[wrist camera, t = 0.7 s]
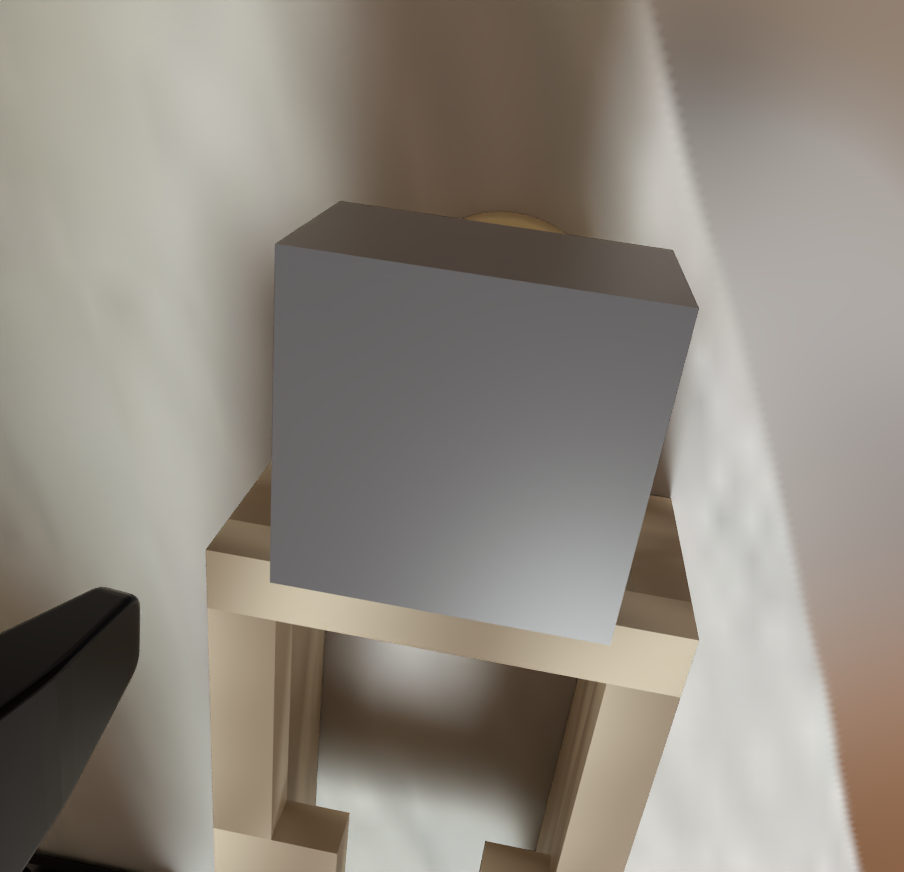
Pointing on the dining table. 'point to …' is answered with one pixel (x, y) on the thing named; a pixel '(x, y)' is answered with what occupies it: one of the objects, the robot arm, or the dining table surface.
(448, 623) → the keyhole board
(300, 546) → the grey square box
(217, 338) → the dining table surface
